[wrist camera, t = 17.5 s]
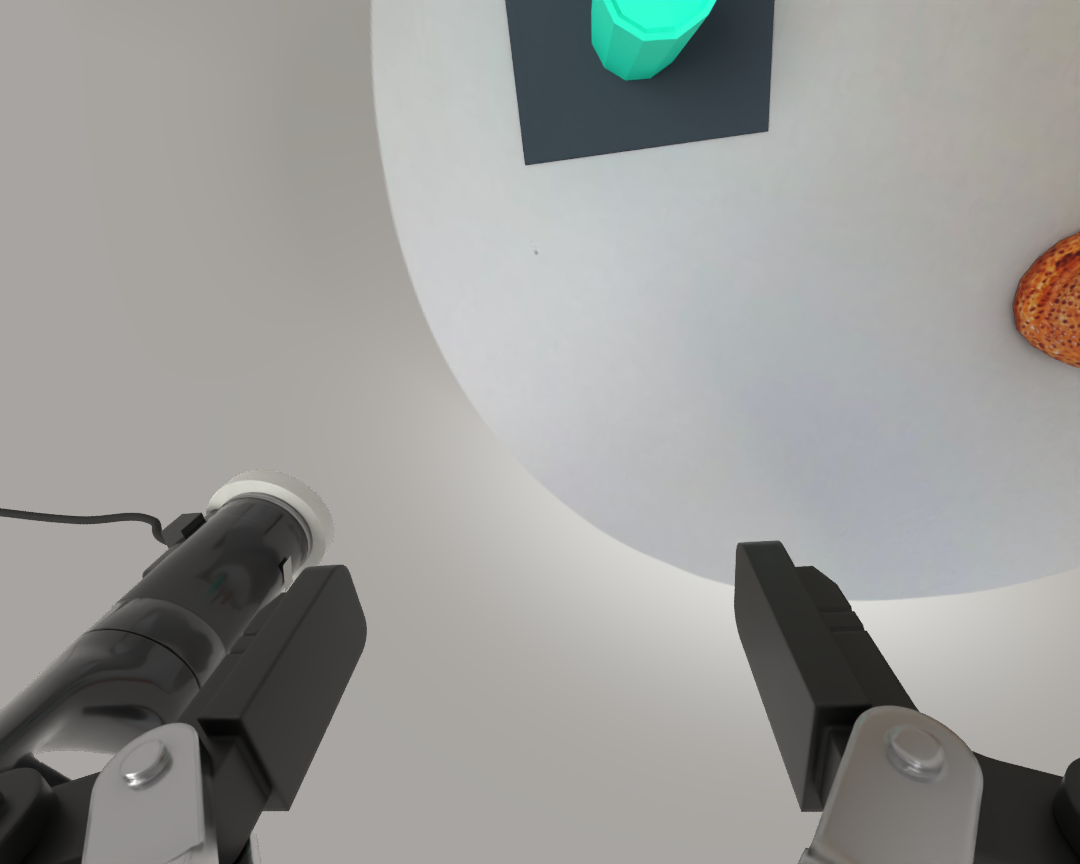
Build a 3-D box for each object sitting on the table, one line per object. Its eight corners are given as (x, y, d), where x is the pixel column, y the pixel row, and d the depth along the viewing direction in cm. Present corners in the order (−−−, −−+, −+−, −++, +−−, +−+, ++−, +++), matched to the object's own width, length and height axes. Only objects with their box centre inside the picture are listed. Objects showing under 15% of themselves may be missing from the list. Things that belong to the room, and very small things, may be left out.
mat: (525, 165, 36) (525, 165, 36) (493, -104, 31) (492, -105, 31) (767, 131, 35) (767, 130, 35) (781, -162, 29) (782, -163, 29)
